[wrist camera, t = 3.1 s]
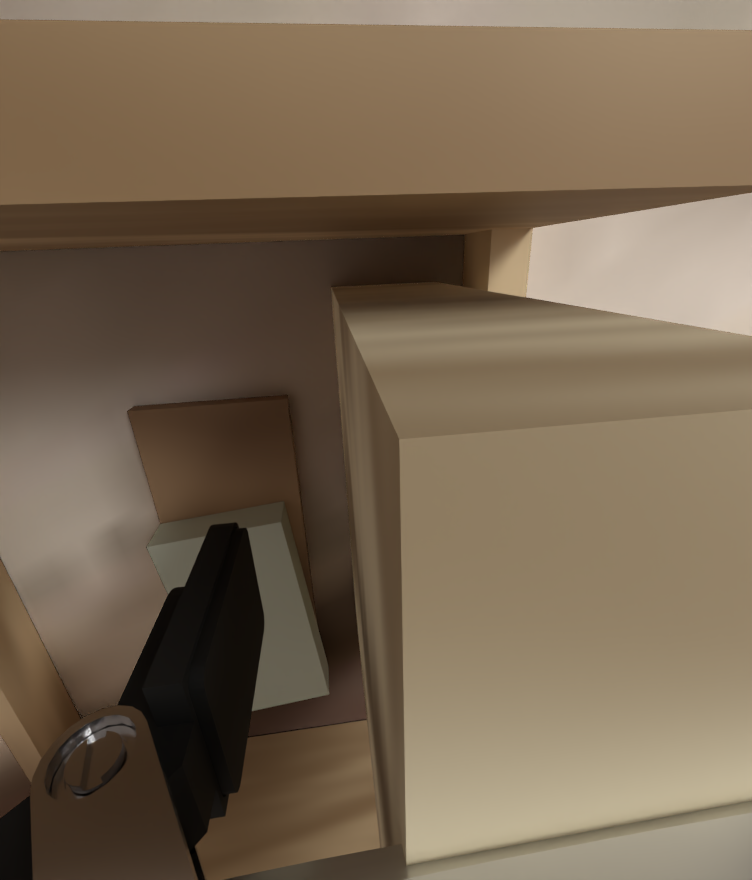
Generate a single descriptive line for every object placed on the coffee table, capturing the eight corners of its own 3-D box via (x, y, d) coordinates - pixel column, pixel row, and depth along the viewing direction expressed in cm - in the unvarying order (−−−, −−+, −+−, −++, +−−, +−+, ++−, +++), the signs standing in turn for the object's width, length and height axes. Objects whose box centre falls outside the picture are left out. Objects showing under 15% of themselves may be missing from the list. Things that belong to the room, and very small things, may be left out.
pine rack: (-219, 200, 9) (-2064, -11, 2) (503, 183, 11) (854, 32, 4) (90, 778, 18) (-62, 1119, 11) (463, 721, 20) (546, 984, 13)
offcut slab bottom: (143, 398, 13) (127, 411, 12) (289, 388, 13) (286, 399, 12) (217, 666, 18) (210, 693, 17) (322, 652, 18) (323, 677, 17)
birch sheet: (330, 286, 12) (401, 440, 2) (434, 281, 12) (1037, 386, 2) (355, 607, 16) (411, 1148, 6) (429, 598, 17) (592, 1101, 7)
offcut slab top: (160, 523, 13) (146, 547, 12) (283, 500, 14) (280, 522, 12) (229, 687, 17) (223, 717, 16) (328, 666, 17) (329, 694, 16)
